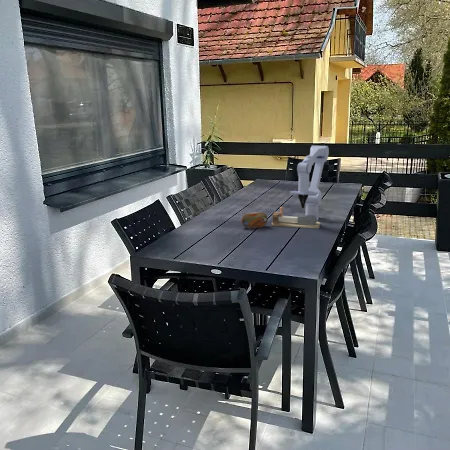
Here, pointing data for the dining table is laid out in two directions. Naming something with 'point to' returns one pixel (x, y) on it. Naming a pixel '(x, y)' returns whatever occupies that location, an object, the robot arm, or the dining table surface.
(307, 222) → the grey rectangular sleeve
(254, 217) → the tin
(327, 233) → the dining table surface
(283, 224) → the base board
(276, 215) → the socket block
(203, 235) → the dining table surface
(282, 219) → the white bar
